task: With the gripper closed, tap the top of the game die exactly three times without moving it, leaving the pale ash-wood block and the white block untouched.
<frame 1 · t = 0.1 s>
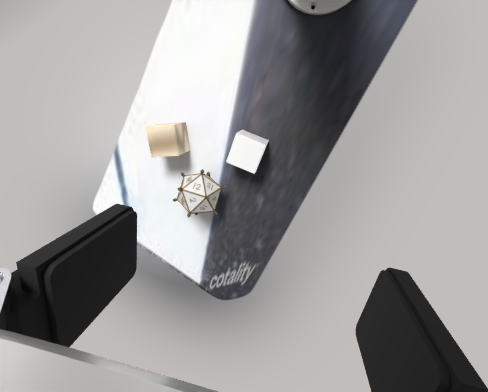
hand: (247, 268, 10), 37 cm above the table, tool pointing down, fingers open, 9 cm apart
game die: (206, 186, 49), on the table
white block: (250, 148, 45), on the table
ash block: (175, 137, 47), on the table
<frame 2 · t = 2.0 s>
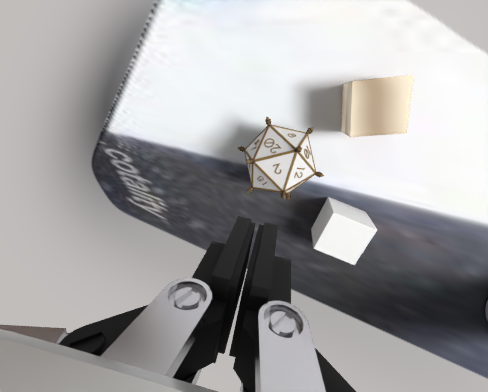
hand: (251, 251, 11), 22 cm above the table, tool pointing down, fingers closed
game die: (280, 154, 32), on the table
white block: (337, 220, 33), on the table
ash block: (365, 106, 28), on the table
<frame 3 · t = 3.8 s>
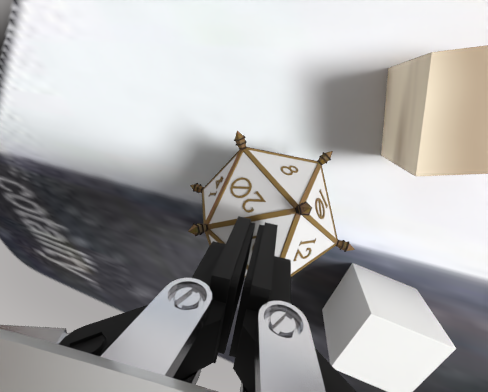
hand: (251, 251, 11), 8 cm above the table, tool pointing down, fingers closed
game die: (271, 191, 18), on the table, touching gripper
white block: (366, 299, 20), on the table
ash block: (430, 110, 15), on the table
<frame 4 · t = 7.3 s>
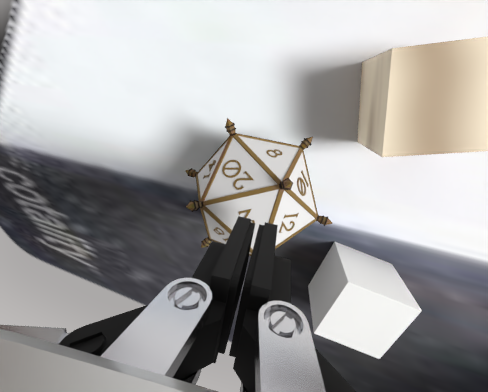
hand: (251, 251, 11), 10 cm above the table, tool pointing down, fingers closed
game die: (259, 176, 20), on the table
white block: (347, 275, 22), on the table
ash block: (399, 100, 17), on the table
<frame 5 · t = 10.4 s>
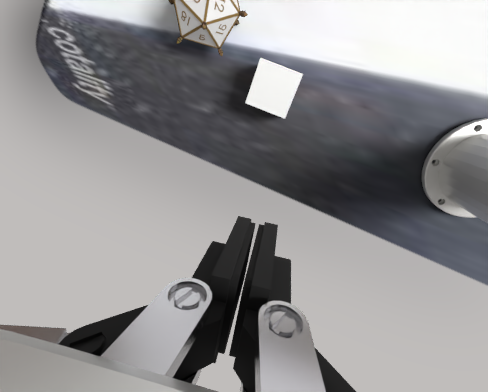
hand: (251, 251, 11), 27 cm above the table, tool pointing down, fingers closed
game die: (216, 18, 32), on the table
white block: (275, 90, 34), on the table
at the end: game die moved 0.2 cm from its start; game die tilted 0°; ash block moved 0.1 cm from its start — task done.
